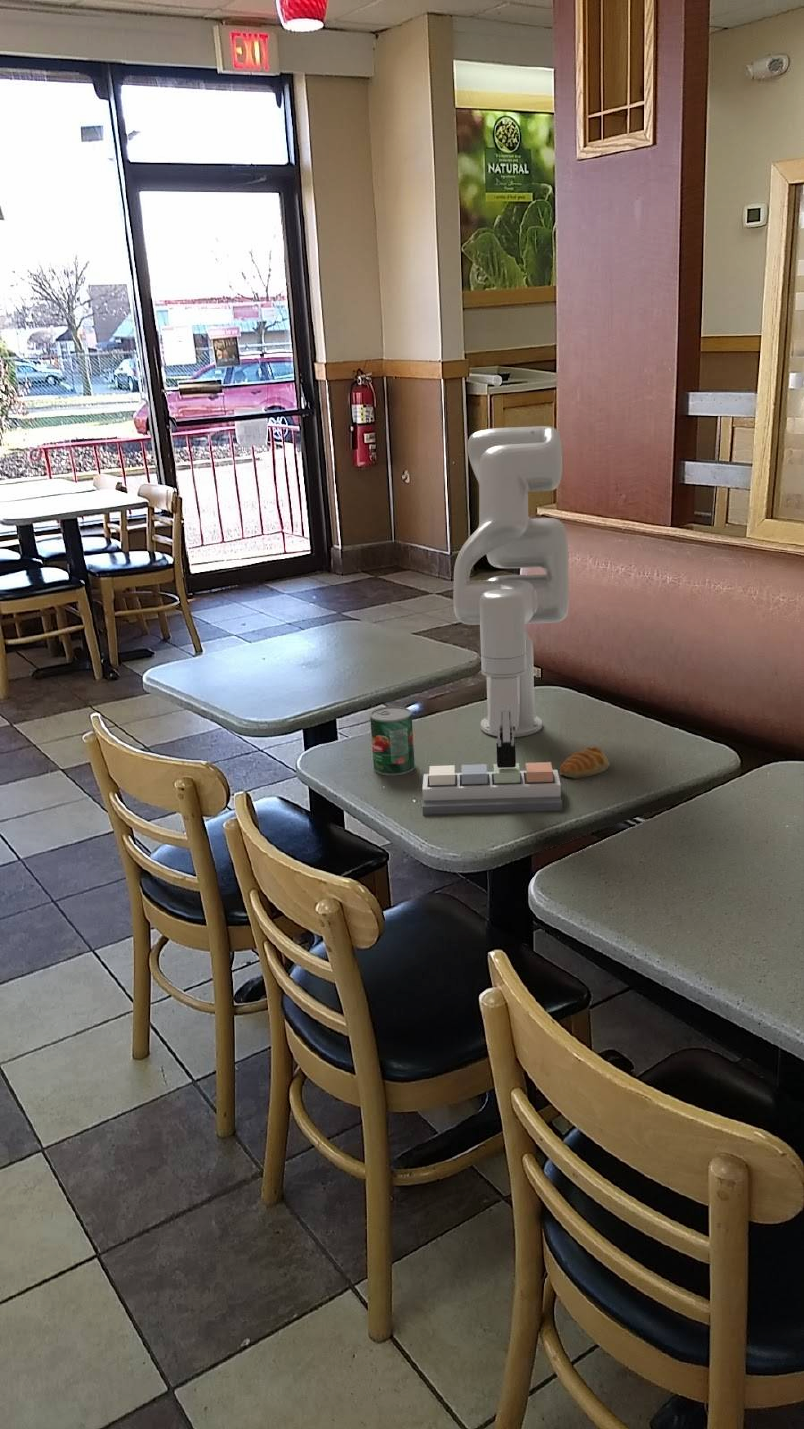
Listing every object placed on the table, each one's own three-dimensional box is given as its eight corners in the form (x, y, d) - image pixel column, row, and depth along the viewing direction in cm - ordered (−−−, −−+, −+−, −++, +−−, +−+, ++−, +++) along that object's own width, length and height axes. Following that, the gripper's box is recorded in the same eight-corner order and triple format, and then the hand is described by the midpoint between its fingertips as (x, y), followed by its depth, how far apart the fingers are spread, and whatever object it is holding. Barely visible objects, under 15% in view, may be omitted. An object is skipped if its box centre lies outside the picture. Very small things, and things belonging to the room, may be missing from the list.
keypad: (425, 787, 199) (424, 768, 198) (556, 783, 198) (556, 764, 197) (422, 814, 188) (421, 795, 187) (562, 810, 186) (561, 790, 185)
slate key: (461, 774, 194) (461, 765, 194) (486, 773, 194) (486, 764, 193) (461, 784, 190) (461, 774, 189) (487, 783, 190) (487, 773, 189)
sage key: (493, 773, 194) (493, 763, 193) (518, 772, 193) (518, 763, 193) (494, 783, 190) (494, 773, 189) (520, 782, 189) (519, 772, 189)
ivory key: (430, 775, 194) (429, 766, 194) (455, 774, 194) (454, 765, 194) (429, 785, 190) (428, 775, 190) (454, 784, 190) (454, 774, 189)
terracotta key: (525, 772, 193) (525, 762, 193) (551, 771, 193) (550, 762, 192) (527, 782, 189) (526, 772, 189) (552, 781, 189) (552, 771, 188)
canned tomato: (423, 765, 210) (420, 710, 206) (396, 778, 204) (393, 723, 200) (391, 757, 214) (388, 703, 211) (364, 770, 209) (360, 715, 205)
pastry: (578, 784, 197) (578, 764, 196) (550, 774, 202) (549, 755, 201) (612, 769, 203) (612, 750, 202) (584, 760, 208) (584, 741, 207)
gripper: (480, 653, 192) (483, 751, 198) (482, 677, 178) (485, 782, 184) (523, 651, 191) (525, 750, 197) (528, 675, 177) (530, 781, 183)
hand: (506, 765), depth 190 cm, fingers closed
